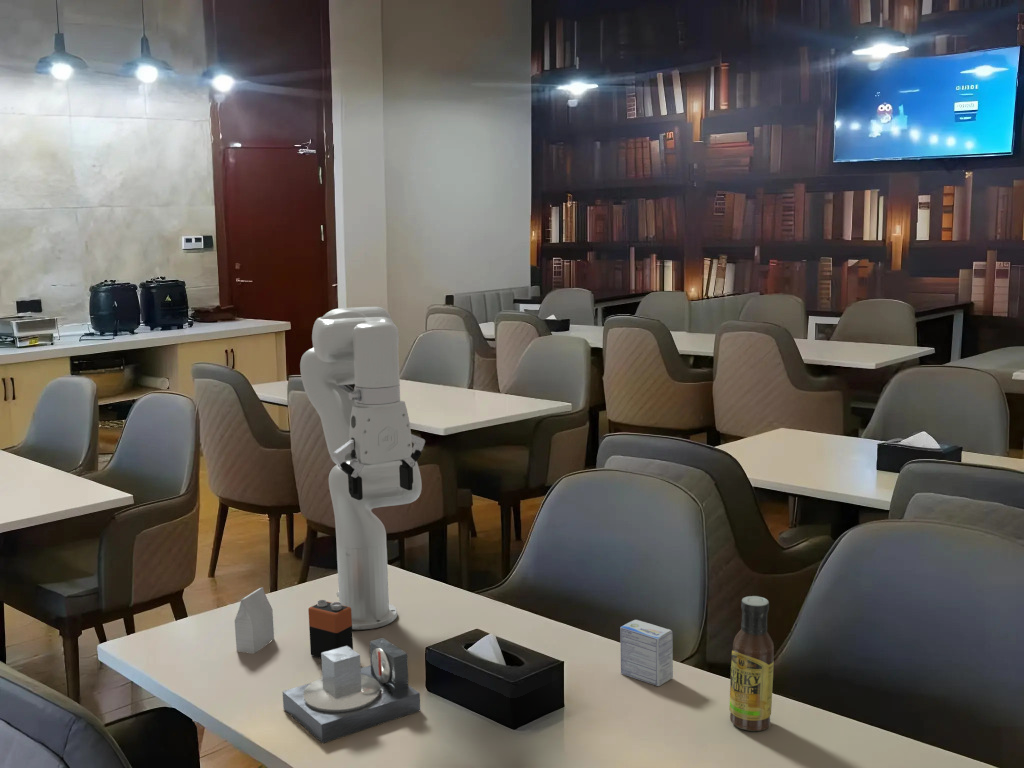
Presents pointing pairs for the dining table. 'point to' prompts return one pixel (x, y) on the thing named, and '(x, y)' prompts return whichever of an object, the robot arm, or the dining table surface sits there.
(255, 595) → the grey house-shaped block
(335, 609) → the battery
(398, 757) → the dining table surface
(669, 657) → the medicine box
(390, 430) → the robot arm
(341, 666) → the light grey rectangular block
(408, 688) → the dial scale
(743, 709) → the sauce bottle
